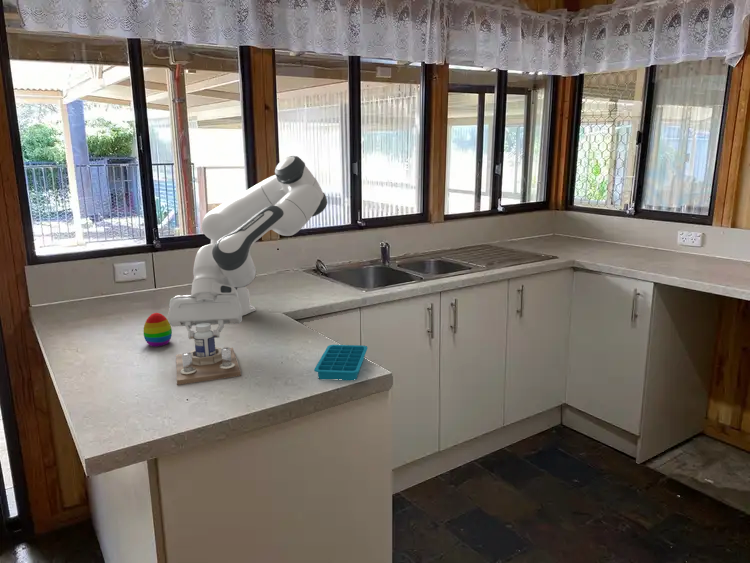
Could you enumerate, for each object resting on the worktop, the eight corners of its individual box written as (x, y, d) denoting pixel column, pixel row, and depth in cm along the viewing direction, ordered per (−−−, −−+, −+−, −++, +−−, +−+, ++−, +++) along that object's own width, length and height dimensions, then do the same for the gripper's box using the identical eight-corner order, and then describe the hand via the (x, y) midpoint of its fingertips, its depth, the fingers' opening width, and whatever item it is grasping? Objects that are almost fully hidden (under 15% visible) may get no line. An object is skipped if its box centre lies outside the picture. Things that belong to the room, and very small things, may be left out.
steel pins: (180, 370, 149) (178, 352, 148) (233, 362, 154) (232, 345, 153) (180, 375, 146) (178, 357, 144) (235, 368, 150) (234, 350, 149)
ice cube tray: (313, 381, 144) (313, 370, 143) (328, 354, 164) (328, 344, 163) (358, 383, 143) (357, 372, 142) (368, 355, 162) (368, 345, 162)
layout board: (176, 358, 161) (175, 348, 160) (233, 351, 166) (232, 341, 166) (177, 384, 143) (176, 373, 142) (240, 375, 148) (240, 364, 147)
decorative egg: (178, 341, 176) (175, 311, 173) (156, 349, 169) (153, 318, 167) (161, 338, 180) (157, 308, 177) (139, 345, 173) (135, 314, 171)
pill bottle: (213, 353, 160) (210, 320, 158) (218, 359, 156) (215, 325, 154) (194, 356, 158) (191, 323, 156) (198, 362, 153) (195, 328, 151)
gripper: (167, 290, 158) (162, 334, 151) (240, 287, 161) (239, 330, 153) (172, 301, 164) (168, 344, 157) (243, 298, 166) (242, 340, 159)
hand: (204, 337), depth 155 cm, fingers closed on pill bottle, 5 cm apart
